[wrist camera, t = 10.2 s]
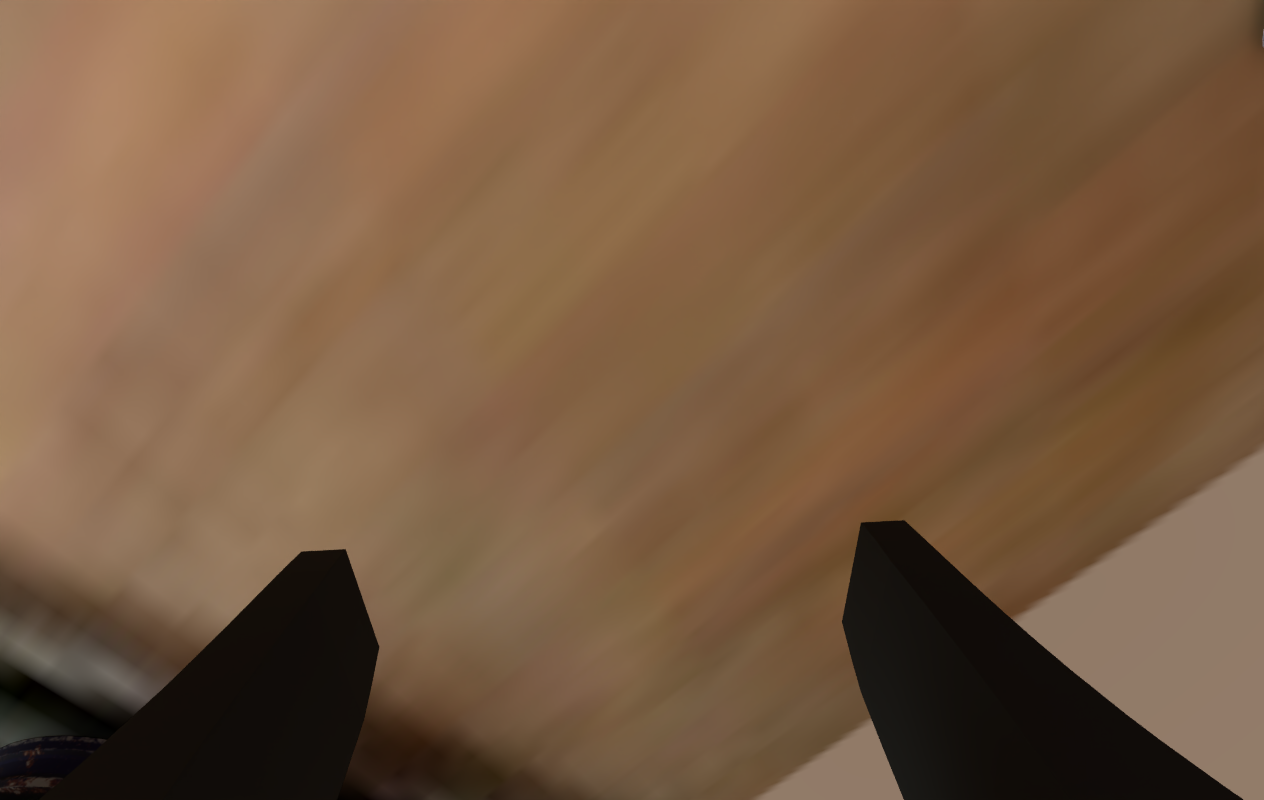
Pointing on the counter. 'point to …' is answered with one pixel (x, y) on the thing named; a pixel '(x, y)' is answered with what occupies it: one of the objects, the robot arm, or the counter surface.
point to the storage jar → (41, 764)
